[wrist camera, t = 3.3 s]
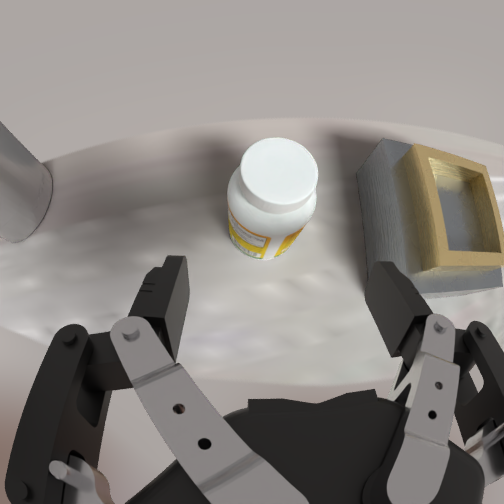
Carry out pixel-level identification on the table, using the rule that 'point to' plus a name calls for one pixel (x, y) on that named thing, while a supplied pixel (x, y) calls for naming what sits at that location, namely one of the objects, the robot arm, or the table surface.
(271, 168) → the supplement bottle
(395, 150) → the gold-rimmed square tray
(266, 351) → the table surface
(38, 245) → the table surface
